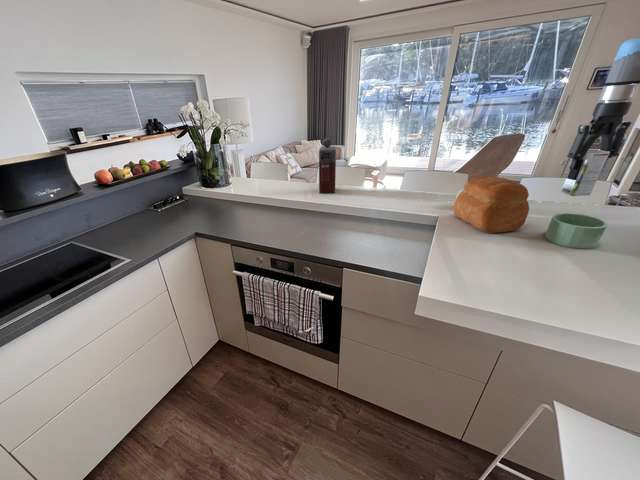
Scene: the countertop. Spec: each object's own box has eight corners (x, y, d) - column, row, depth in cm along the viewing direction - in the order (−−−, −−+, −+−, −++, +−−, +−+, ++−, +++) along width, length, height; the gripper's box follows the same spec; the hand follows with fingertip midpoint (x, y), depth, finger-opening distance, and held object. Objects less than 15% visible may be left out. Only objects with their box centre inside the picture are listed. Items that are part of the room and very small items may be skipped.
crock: (573, 230, 100) (582, 212, 97) (608, 247, 89) (620, 226, 86) (535, 233, 101) (542, 214, 98) (565, 249, 90) (575, 229, 86)
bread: (481, 235, 102) (495, 189, 94) (447, 215, 121) (456, 174, 112) (529, 231, 103) (547, 184, 94) (487, 211, 121) (500, 170, 113)
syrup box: (559, 191, 104) (576, 149, 97) (578, 191, 103) (596, 148, 96) (571, 196, 99) (590, 152, 92) (591, 195, 98) (611, 150, 91)
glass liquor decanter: (319, 194, 159) (318, 140, 145) (319, 189, 169) (318, 138, 155) (335, 194, 158) (336, 139, 144) (334, 188, 167) (335, 136, 153)
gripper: (635, 98, 89) (600, 173, 101) (570, 104, 91) (543, 178, 102) (662, 98, 83) (622, 178, 94) (592, 104, 84) (561, 183, 96)
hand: (581, 178), depth 98 cm, fingers closed on syrup box, 6 cm apart
